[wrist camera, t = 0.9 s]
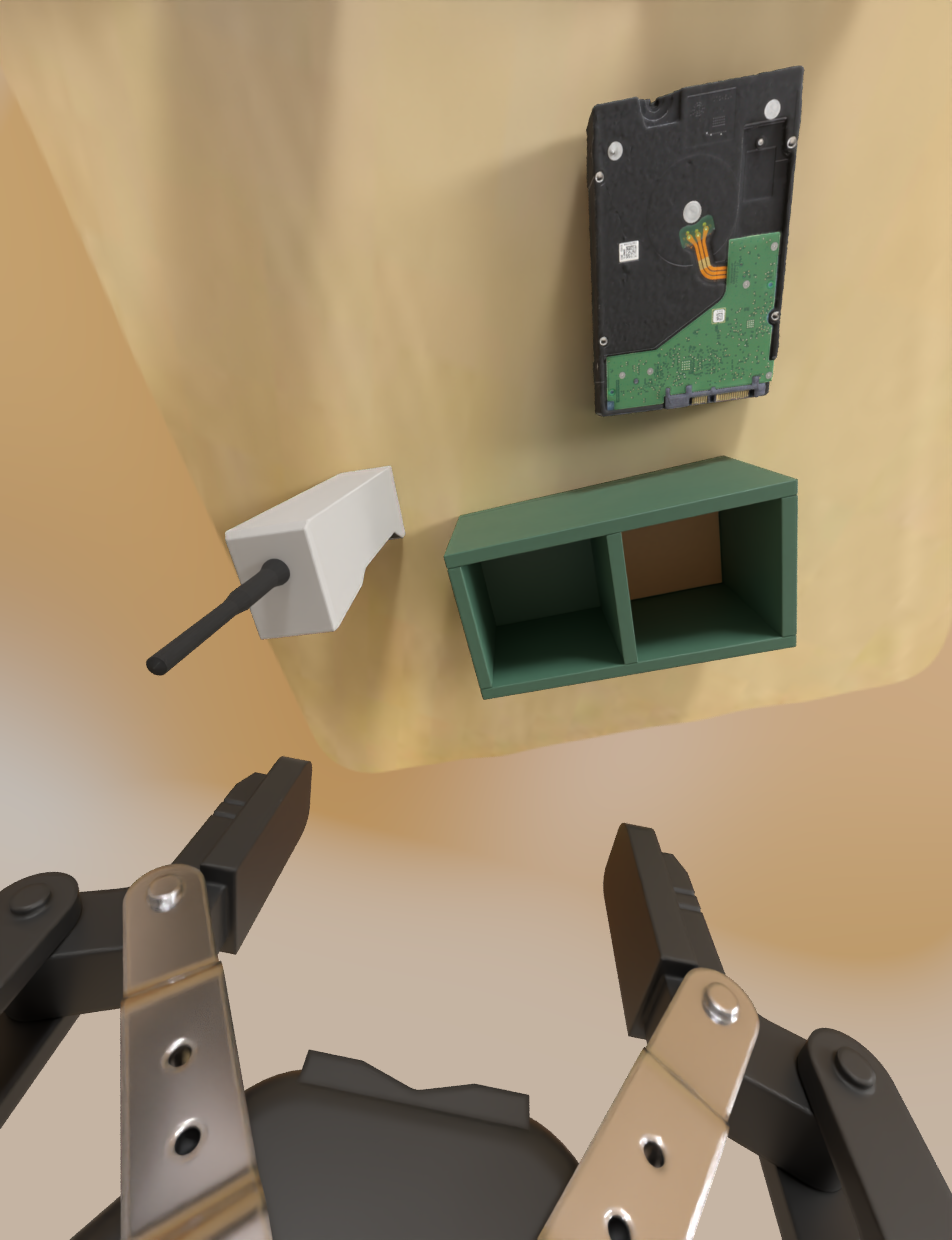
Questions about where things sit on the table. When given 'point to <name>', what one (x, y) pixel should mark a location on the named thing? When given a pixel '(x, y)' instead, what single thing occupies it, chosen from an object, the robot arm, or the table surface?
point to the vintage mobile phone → (301, 560)
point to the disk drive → (690, 240)
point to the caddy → (628, 576)
